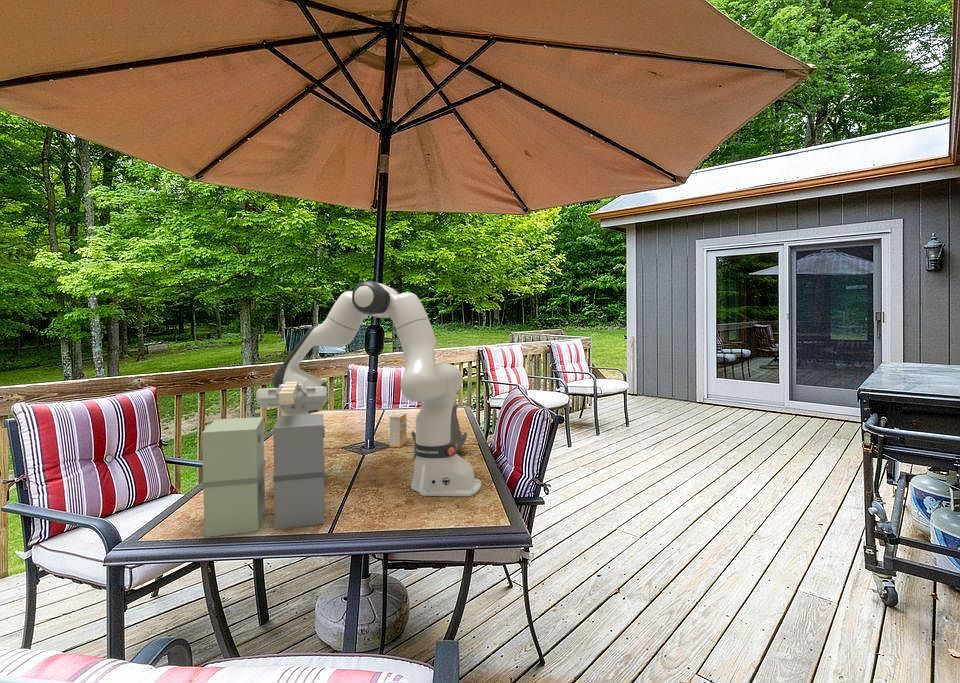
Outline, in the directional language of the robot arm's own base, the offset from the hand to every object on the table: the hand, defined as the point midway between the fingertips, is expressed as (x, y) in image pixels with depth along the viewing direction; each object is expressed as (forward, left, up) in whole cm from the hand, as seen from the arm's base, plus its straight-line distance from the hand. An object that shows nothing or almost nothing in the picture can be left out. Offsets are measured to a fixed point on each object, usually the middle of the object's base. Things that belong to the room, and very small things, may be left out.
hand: (291, 386), depth 145 cm
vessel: (-27, -58, -34) cm, 72 cm away
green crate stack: (+5, +18, -34) cm, 38 cm away
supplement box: (-7, -65, -34) cm, 74 cm away
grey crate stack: (-9, +10, -34) cm, 36 cm away
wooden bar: (-4, +7, -2) cm, 8 cm away
